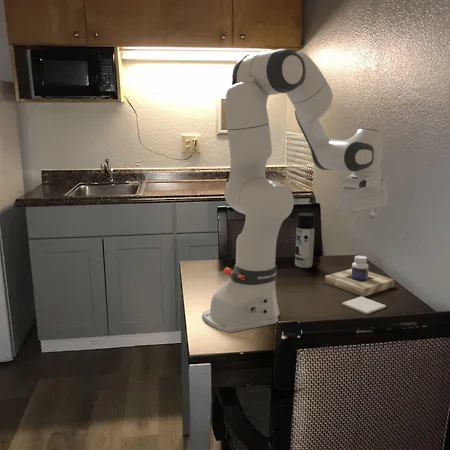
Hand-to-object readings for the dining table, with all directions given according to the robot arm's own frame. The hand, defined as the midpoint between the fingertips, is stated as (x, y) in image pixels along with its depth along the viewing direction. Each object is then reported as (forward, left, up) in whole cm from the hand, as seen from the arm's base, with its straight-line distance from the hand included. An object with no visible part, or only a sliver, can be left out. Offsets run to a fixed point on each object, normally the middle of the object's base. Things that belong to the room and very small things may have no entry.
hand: (363, 221), depth 155 cm
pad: (-14, -13, -22) cm, 29 cm away
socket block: (0, 0, -22) cm, 22 cm away
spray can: (0, +26, -22) cm, 34 cm away
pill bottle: (0, 0, -22) cm, 22 cm away
